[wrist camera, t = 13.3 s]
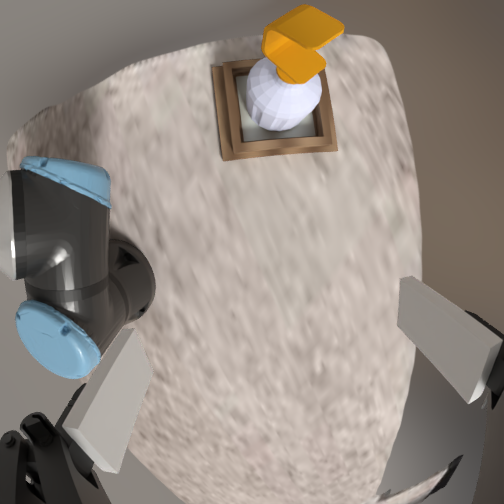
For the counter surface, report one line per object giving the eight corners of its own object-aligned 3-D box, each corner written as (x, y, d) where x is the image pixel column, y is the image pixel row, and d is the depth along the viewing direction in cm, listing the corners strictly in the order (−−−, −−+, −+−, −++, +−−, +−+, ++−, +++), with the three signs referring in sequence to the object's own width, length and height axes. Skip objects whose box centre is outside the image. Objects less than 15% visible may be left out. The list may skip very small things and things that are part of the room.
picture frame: (223, 161, 41) (221, 159, 37) (212, 69, 36) (209, 60, 33) (335, 151, 41) (344, 149, 37) (321, 62, 36) (327, 54, 33)
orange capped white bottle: (276, 143, 39) (321, 99, 15) (233, 103, 37) (223, 18, 13) (316, 107, 38) (394, 42, 14) (275, 68, 36) (307, -29, 12)
